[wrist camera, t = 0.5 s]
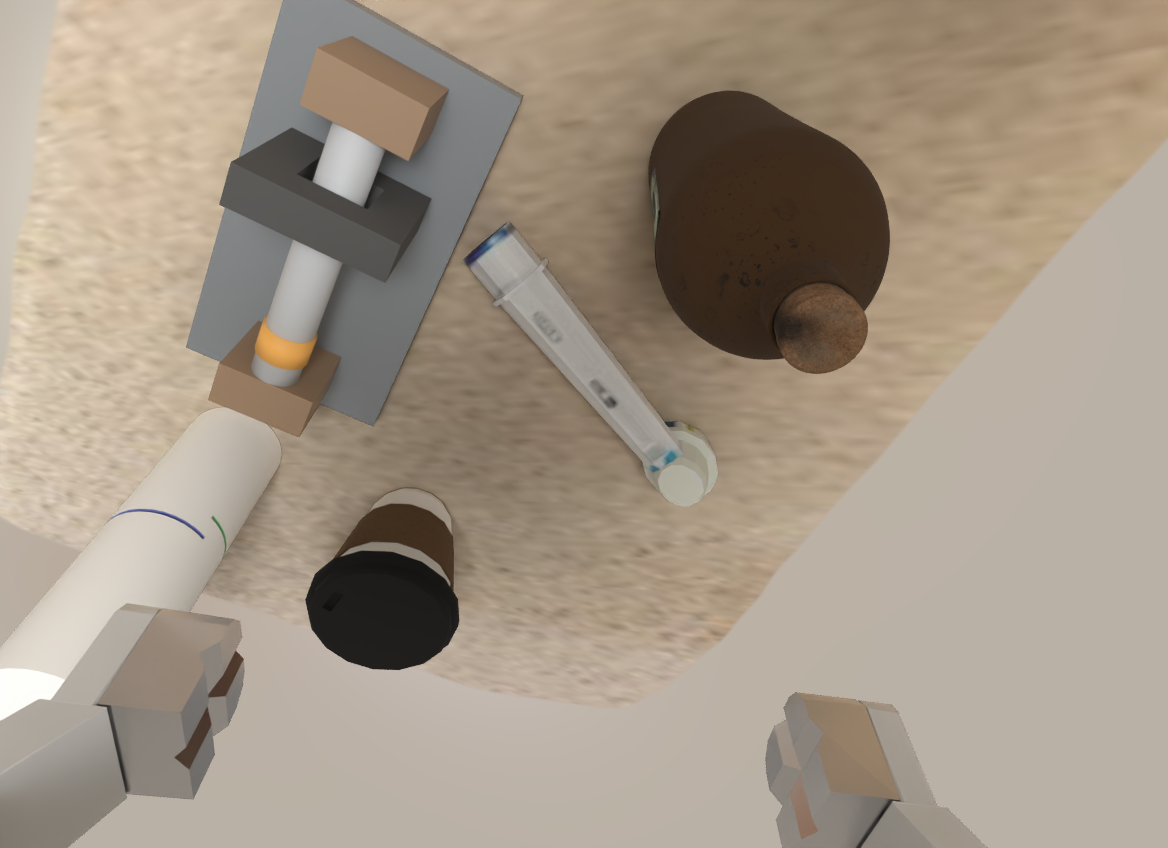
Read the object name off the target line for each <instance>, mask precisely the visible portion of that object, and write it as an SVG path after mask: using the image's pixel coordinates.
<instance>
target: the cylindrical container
mask: <svg viewBox="0 0 1168 848" xmlns="http://www.w3.org/2000/svg"><path fill="white" fill-rule="evenodd" d="M281 456H282V451H281V446H280V443H279V440H278V438H277V436H276V435H275V433H274V432H273V430H272V429H271V428H270V427H269V426H268V425H267V424H265V423H263V422H261V421H258V420H256V419H253V418H251V417H248V416H246V415H243V414H241V413H239V412H236V411H234V410H231V409H229V408H225V407H221V408H214V409H211V410H208V411H205V412H204V413H202V414H200V415H199V416H198V417H197V418H196V419H195V420H194V421H193V422H192V424H191V425H190V426H189V427H188V428H187V429H186V431H185V432H184V433H183V434H182V435H181V436H180V438H179V439H178V440H177V441H176V442H175V443H174V445H173V446H172V447H171V448H170V449H169V451H168V452H167V453H166V454H165V455H164V456H163V458H162V459H161V460H160V461H159V462H158V463H157V465H156V466H155V467H154V468H153V469H152V470H151V472H150V473H149V474H148V475H147V476H146V477H145V479H144V480H143V481H142V482H141V483H140V484H139V486H138V487H137V488H136V489H135V490H134V491H133V493H132V494H131V495H130V496H129V497H128V498H127V500H126V501H125V502H124V503H123V504H122V505H121V507H120V508H119V509H118V510H117V511H116V513H115V514H114V515H113V516H112V517H111V518H110V520H109V521H108V522H107V523H106V524H105V525H104V527H103V528H102V529H101V530H100V531H99V532H98V534H97V535H96V536H95V537H94V538H93V539H92V541H91V542H90V543H89V544H88V545H87V546H86V548H85V549H84V550H83V551H82V552H81V553H80V555H79V556H78V557H77V558H76V560H75V561H74V562H73V563H72V564H71V565H70V566H69V568H68V569H67V570H66V571H65V572H64V574H63V575H62V576H61V577H60V578H59V579H58V580H57V582H56V583H55V584H54V585H53V586H52V588H51V589H50V590H49V591H48V592H47V593H46V594H45V596H44V597H43V598H42V599H41V600H40V602H39V603H38V604H37V605H36V606H35V607H34V609H33V610H32V611H31V612H30V613H29V614H28V616H27V617H26V618H25V619H24V620H23V621H22V623H21V624H20V625H19V626H18V627H17V629H16V630H15V631H14V632H13V633H12V634H11V635H10V637H9V638H8V639H7V640H6V641H5V642H4V644H3V645H2V646H1V647H0V721H1V720H3V719H4V718H6V717H8V716H10V715H11V714H13V713H15V712H17V711H18V710H20V709H22V708H24V707H26V706H27V705H29V704H31V703H33V702H34V701H36V700H38V699H46V700H51V699H52V698H53V696H54V695H55V693H56V692H57V691H58V689H59V688H60V687H61V685H62V684H63V682H64V681H65V680H66V678H67V677H68V676H69V674H70V673H71V671H72V670H73V669H74V667H75V666H76V665H77V663H78V662H79V660H80V659H81V658H82V656H83V655H84V654H85V652H86V651H87V649H88V648H89V647H90V645H91V644H92V643H93V641H94V640H95V639H96V637H97V636H98V634H99V633H100V632H101V630H102V629H103V628H104V626H105V625H106V623H107V622H108V621H109V619H110V618H111V617H112V615H113V614H114V612H115V611H117V610H118V609H119V608H121V607H122V606H124V605H125V604H126V603H130V604H137V605H144V606H150V607H157V608H166V609H172V610H178V611H185V612H190V611H191V609H192V607H193V606H194V604H195V603H196V601H197V599H198V598H199V596H200V594H201V593H202V591H203V590H204V588H205V586H206V585H207V583H208V581H209V580H210V578H211V576H212V575H213V573H214V572H215V570H216V568H217V567H218V565H219V563H220V562H221V560H222V558H223V557H224V555H225V554H226V552H227V550H228V549H229V547H230V545H231V544H232V542H233V540H234V539H235V537H236V536H237V534H238V532H239V531H240V529H241V527H242V526H243V524H244V522H245V521H246V519H247V518H248V516H249V514H250V513H251V511H252V509H253V508H254V506H255V504H256V503H257V501H258V500H259V498H260V496H261V495H262V493H263V491H264V490H265V488H266V486H267V485H268V483H269V482H270V480H271V478H272V477H273V475H274V473H275V472H276V470H277V468H278V467H279V464H280V462H281Z"/></svg>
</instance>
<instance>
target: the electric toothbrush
mask: <svg viewBox="0 0 1168 848" xmlns="http://www.w3.org/2000/svg"><path fill="white" fill-rule="evenodd" d="M463 261H464V262H465V263H466V265H467V266H468V267H469V268H470V269H471V271H472V272H473V273H474V274H475V275H476V277H477V278H478V279H479V280H480V281H481V283H482V284H483V285H484V286H485V287H486V289H487V290H488V291H489V292H490V293H491V294H492V296H493V297H494V298H495V300H494V301H493V303H492V304H493V305H494V306H495V307H497V306H499V305H501V306H502V307H503V308H504V310H505V311H506V312H507V313H508V314H509V315H510V316H511V317H512V318H513V319H514V321H515V322H516V323H517V324H518V325H519V326H520V327H521V328H522V329H523V330H524V332H525V333H526V334H527V335H528V336H529V337H530V338H531V339H532V340H533V341H534V343H535V344H536V345H537V346H538V347H539V348H540V349H541V350H542V351H543V352H544V354H545V355H546V356H547V357H548V358H549V359H550V360H551V361H552V362H553V363H554V365H555V366H556V367H557V368H558V369H559V370H560V371H561V372H562V373H563V375H564V376H565V377H566V378H567V379H568V380H569V381H570V382H571V383H572V384H573V386H574V387H575V388H576V389H577V390H578V391H579V392H580V393H581V394H582V395H583V397H584V398H585V399H586V400H587V401H588V402H589V403H590V404H591V405H592V406H593V408H594V409H595V410H596V411H597V412H598V413H599V414H600V415H601V416H602V417H603V419H604V420H605V421H606V422H607V423H608V424H609V425H610V426H611V427H612V428H613V430H614V431H615V432H616V433H617V434H618V435H619V436H620V437H621V438H622V439H623V441H624V442H625V443H626V444H627V445H628V446H629V447H630V448H631V449H632V451H633V452H634V453H635V454H636V455H637V456H638V457H639V458H640V459H641V460H642V462H643V466H644V471H645V476H646V477H647V478H648V479H649V481H650V482H651V483H652V484H653V485H654V487H655V488H656V489H657V490H658V491H659V492H660V493H661V494H662V495H663V496H664V498H665V499H666V500H667V501H669V502H671V503H673V504H675V505H677V506H692V505H693V504H695V503H697V502H699V501H700V500H701V499H703V497H704V495H705V494H707V493H709V492H710V491H712V488H713V486H714V484H715V482H716V479H717V477H718V469H717V463H716V457H715V452H714V451H713V450H712V448H711V447H710V446H709V442H708V440H707V439H706V438H705V437H704V435H703V434H702V433H701V432H700V430H699V429H698V428H697V429H695V428H693V427H691V426H689V425H687V424H685V423H683V422H682V421H679V422H664V421H663V420H662V419H661V417H660V416H659V415H658V413H657V412H656V411H655V409H654V408H653V407H652V405H651V404H650V403H649V401H648V400H647V399H646V398H645V396H644V395H643V394H642V392H641V391H640V390H639V388H638V387H637V386H636V384H635V383H634V382H633V380H632V379H631V378H630V377H629V375H628V374H627V373H626V371H625V370H624V369H623V367H622V366H621V365H620V363H619V362H618V361H617V359H616V358H615V357H614V356H613V354H612V353H611V352H610V350H609V349H608V348H607V346H606V345H605V344H604V342H603V341H602V340H601V338H600V337H599V336H598V335H597V333H596V332H595V331H594V329H593V328H592V327H591V325H590V324H589V323H588V321H587V320H586V319H585V318H584V316H583V315H582V314H581V312H580V311H579V310H578V308H577V307H576V306H575V304H574V303H573V302H572V300H571V299H570V298H569V297H568V295H567V294H566V293H565V291H564V290H563V289H562V287H561V286H560V285H559V283H558V282H557V281H556V279H555V278H554V277H553V276H552V274H551V273H550V272H549V270H548V269H547V268H546V266H547V264H548V262H549V261H548V260H547V259H546V258H544V259H543V260H540V259H539V258H538V256H537V255H536V254H535V253H534V251H533V250H532V249H531V248H530V246H529V245H528V244H527V243H526V241H525V240H524V239H523V238H522V236H521V235H520V234H519V232H518V231H517V230H516V229H515V227H514V226H513V225H512V224H511V222H510V221H509V222H507V223H506V224H505V225H503V226H502V227H501V228H500V229H498V230H497V231H496V232H495V233H494V234H492V235H491V236H490V237H489V238H488V239H486V240H485V241H484V242H483V243H482V244H480V245H479V246H478V247H477V248H476V249H475V250H473V251H472V252H471V253H470V254H469V255H468V256H467V257H466V258H465V259H464V260H463Z"/></svg>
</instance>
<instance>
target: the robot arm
mask: <svg viewBox="0 0 1168 848" xmlns="http://www.w3.org/2000/svg"><path fill="white" fill-rule="evenodd" d="M241 638H242V633H241V624H240V621H238V620H235V619H229V618H222V617H216V616H210V615H203V614H197V613H191V612H185V611H178V610H172V609H166V608H157V607H150V606H144V605H137V604H130V603H126V604H125V605H124V606H122V607H121V608H119V609H118V610H117V611H115V612H114V614H113V615H112V617H111V618H110V619H109V621H108V622H107V623H106V625H105V626H104V628H103V629H102V630H101V632H100V633H99V634H98V636H97V637H96V639H95V640H94V641H93V643H92V644H91V645H90V647H89V648H88V649H87V651H86V652H85V654H84V655H83V656H82V658H81V659H80V660H79V662H78V663H77V665H76V666H75V667H74V669H73V670H72V671H71V673H70V674H69V676H68V677H67V678H66V680H65V681H64V682H63V684H62V685H61V687H60V688H59V689H58V691H57V692H56V693H55V695H54V696H53V698H52V699H51V700H46V699H38V700H36V701H34V702H33V703H31V704H29V705H27V706H26V707H24V708H22V709H20V710H18V711H17V712H15V713H13V714H11V715H10V716H8V717H6V718H4V719H3V720H1V721H0V848H68V847H69V846H70V845H71V844H72V843H74V842H75V841H76V840H77V839H78V838H80V837H81V836H82V835H83V834H85V833H86V832H87V831H88V830H89V829H91V828H92V827H93V826H94V825H95V824H96V823H97V822H99V821H100V820H101V819H102V818H104V817H105V816H106V815H107V814H108V813H110V812H111V811H112V810H113V809H114V808H116V807H117V806H118V805H119V804H120V803H122V802H123V801H124V800H125V799H126V798H127V796H126V794H133V795H146V796H157V797H170V798H183V799H194V797H195V795H196V793H197V791H198V789H199V786H200V784H201V782H202V780H203V778H204V776H205V774H206V772H207V770H208V768H209V765H210V763H211V761H212V759H213V757H214V755H215V753H214V743H213V736H214V735H216V734H217V733H219V732H220V731H222V730H223V729H224V728H226V727H227V726H228V725H229V723H230V721H231V718H232V716H233V714H234V712H235V710H236V707H237V704H238V701H239V697H240V694H241V690H242V687H243V679H244V659H243V658H242V656H241V655H240V654H239V653H237V652H236V648H237V647H238V645H239V643H240V641H241ZM784 710H785V715H786V720H785V721H783V722H781V723H780V724H778V725H776V726H774V728H773V730H772V733H771V735H770V737H769V740H768V744H767V751H766V774H767V779H768V784H769V789H770V791H771V792H772V793H773V795H774V796H775V797H776V798H777V800H778V801H779V802H780V803H781V804H782V806H783V807H782V809H781V811H780V813H779V815H778V817H777V819H776V822H777V826H778V831H779V835H780V840H781V844H782V848H987V847H986V846H985V845H984V844H983V843H982V842H981V841H980V840H979V839H978V838H977V837H976V836H975V835H974V834H973V833H972V832H971V831H970V830H969V829H968V828H967V827H966V826H965V825H964V824H963V823H962V822H961V821H960V820H959V819H958V818H957V817H956V816H955V815H954V814H953V813H952V812H951V811H950V810H949V809H948V808H945V807H939V806H937V803H936V801H935V798H934V796H933V794H932V791H931V789H930V787H929V784H928V782H927V779H926V777H925V775H924V772H923V770H922V767H921V765H920V763H919V760H918V758H917V756H916V753H915V751H914V748H913V746H912V743H911V741H910V739H909V736H908V734H907V732H906V729H905V727H904V724H903V722H902V720H901V717H900V715H899V713H898V711H897V710H896V709H895V708H894V706H893V705H890V704H882V703H874V702H866V701H857V700H855V699H848V698H839V697H831V696H822V695H814V694H805V693H797V692H796V693H794V694H793V695H791V696H790V697H789V698H788V700H787V702H786V704H785V706H784Z"/></svg>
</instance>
